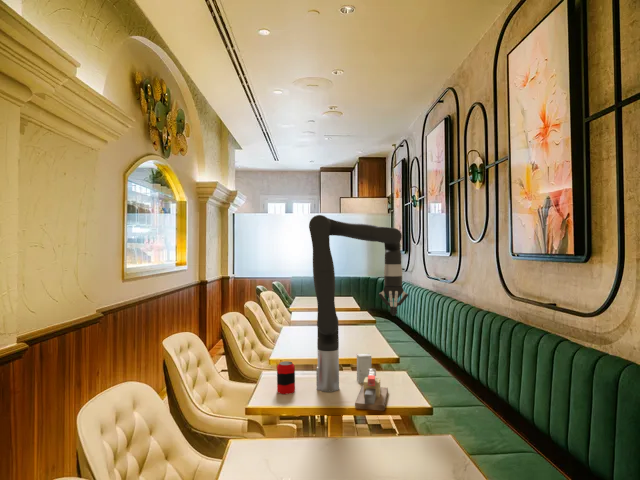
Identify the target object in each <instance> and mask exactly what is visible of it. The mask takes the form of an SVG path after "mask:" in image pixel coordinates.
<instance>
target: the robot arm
mask: <svg viewBox="0 0 640 480" xmlns="http://www.w3.org/2000/svg"><path fill="white" fill-rule="evenodd" d="M308 229H309V233H310V237H311V238H310V239H311V244H312V273H313V274H312V275H313V276H312V277H313V285H314V291H315V297H316V302H317V316H316V317H317V319H316V327H317V342H316V343H317V346H316V347H317V366H316V368H315V369H316V375H315V376H316V390H317V391H321V392H324V393H325V392H326V393H328V392H329V393H330V392H336V391H338V390H339V389H340V364H339V362H340V359H339V353H340V351H339V350H340V349H339V348H340V347H339V346H340V345H339V344H340V343H339V340H340V339H339V338H340V337H339V318H338V315H337V310H336V304H335V293H336V277H335V276H336V275H335V274H336V273H335V266H334V260H333V256H332V251H331V246H330V245H331V244H330V236H338V237H339V236H340V237H345V238H350V239H354V240H360V241H366V242H378V243H382V244H384V270H383V271H384V272H383V274H384V275H383V276H384V277H383V278H384V279H383V281H384V282H383V283H384V287H383V289H382V291H381V292H379V293H378V296H379V298H380V299H381V300H382V302H383V304H385V305H386V306H389V310H390V311H389V314H390V315H391V316H396V315H397V314H398V307H399V306H401V305H403V303H404V302H405V301H406V300H407V298H408V297H409V294H408V293H407V292H406V291H404V287H403V266H402V252H401V241H402V238H403V234H402V232H401V230H399V229H398V228H396V227H388V226H378V225H375V224H374V225H372V224H369V223H368V224H365V223H358V222H355V223H354V222H344V221H339V220H335V219H332V218H328V217H327V216H326V215H323V214H317V215H314V216H313V217H311V219H310V221H309V224H308ZM385 296H386V297H387V298H388V299H389V301H388V300H387V298H386V297H385ZM401 296H402V297H401ZM400 297H401V298H400ZM399 298H400V300H399V301H398V299H399ZM393 300H394V301H393Z"/></svg>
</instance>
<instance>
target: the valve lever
mask: <svg viewBox="0 0 640 480" xmlns="http://www.w3.org/2000/svg"><path fill="white" fill-rule="evenodd" d="M376 376H377V369H376V368H373V367H371V368H370V369H368V386H375V378H376Z"/></svg>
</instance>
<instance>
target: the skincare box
mask: <svg viewBox="0 0 640 480" xmlns="http://www.w3.org/2000/svg"><path fill="white" fill-rule="evenodd" d="M370 368H372V355H371V354H370V353H357V354H356V381H357V383H358V384H364V380H365V377H368V369H370Z"/></svg>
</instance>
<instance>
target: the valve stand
mask: <svg viewBox="0 0 640 480" xmlns="http://www.w3.org/2000/svg"><path fill="white" fill-rule="evenodd" d="M388 394H389V388H388V387H386V386H385V387H383V386H382V387H381V378H380V377H375V386H368V377H365V380H364V383H363V385H361V387H360V389H359V391H358V395H357V396H356V397H357V398H356V399H355V402H354V408H355V409H360V410H361V409H362V410H373V411H385V408H386V407H385V406H386V404H385V403H387V400H388V399H387V398H388Z"/></svg>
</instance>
